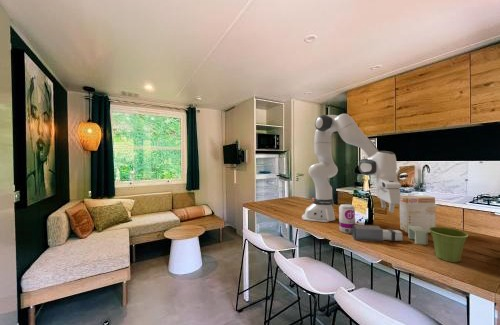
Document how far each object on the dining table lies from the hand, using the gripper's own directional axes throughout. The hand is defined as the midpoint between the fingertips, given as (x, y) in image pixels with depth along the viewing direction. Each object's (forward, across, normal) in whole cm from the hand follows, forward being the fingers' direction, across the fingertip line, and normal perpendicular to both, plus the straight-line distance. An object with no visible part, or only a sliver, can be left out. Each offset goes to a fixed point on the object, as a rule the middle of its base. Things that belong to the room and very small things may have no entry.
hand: (387, 209), depth 108 cm
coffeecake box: (+16, -17, +20) cm, 31 cm away
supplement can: (+15, -10, -18) cm, 25 cm away
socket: (+15, 0, +13) cm, 20 cm away
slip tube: (+15, 0, -5) cm, 16 cm away
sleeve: (+15, 0, -10) cm, 18 cm away
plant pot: (+16, +18, +16) cm, 28 cm away
